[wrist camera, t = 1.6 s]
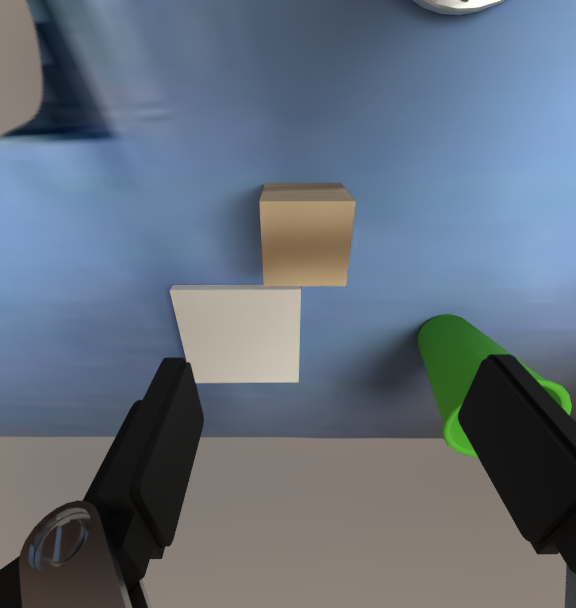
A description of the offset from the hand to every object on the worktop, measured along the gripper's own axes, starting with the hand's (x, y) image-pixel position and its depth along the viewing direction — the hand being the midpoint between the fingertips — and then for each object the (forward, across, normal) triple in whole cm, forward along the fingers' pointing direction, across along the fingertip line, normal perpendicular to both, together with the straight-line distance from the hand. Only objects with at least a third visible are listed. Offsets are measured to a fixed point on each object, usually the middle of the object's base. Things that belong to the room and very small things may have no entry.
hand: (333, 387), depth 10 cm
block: (+18, 0, 0) cm, 18 cm away
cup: (+18, -15, +12) cm, 27 cm away
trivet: (+18, +6, +12) cm, 23 cm away
